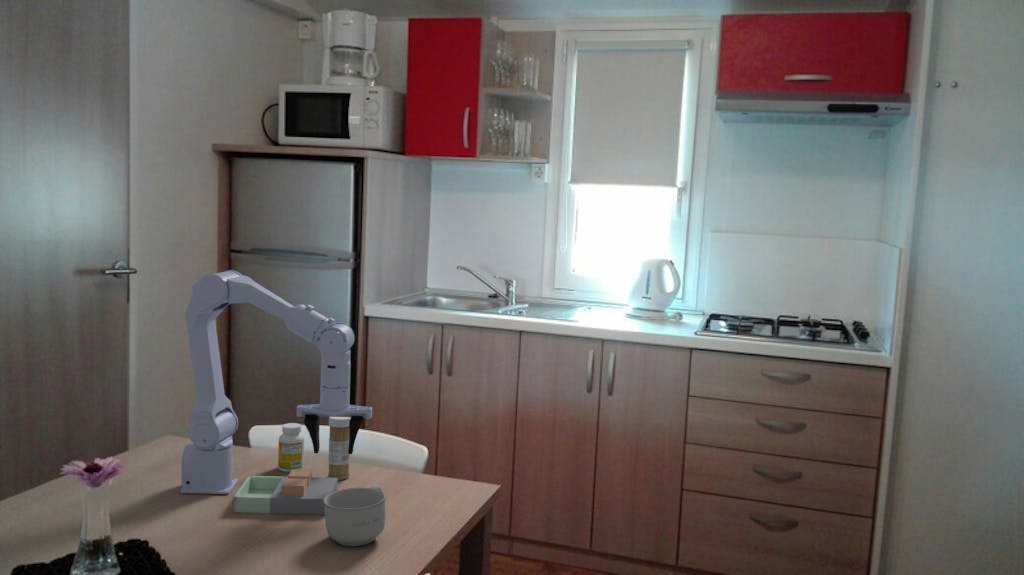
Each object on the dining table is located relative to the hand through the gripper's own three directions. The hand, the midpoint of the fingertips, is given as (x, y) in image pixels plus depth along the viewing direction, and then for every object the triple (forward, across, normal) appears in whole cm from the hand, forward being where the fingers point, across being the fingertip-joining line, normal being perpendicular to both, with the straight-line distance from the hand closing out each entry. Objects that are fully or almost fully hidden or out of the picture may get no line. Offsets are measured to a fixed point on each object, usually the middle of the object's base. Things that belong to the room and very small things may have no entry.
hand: (333, 452), depth 169 cm
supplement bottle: (+10, -12, +17) cm, 23 cm away
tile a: (+6, -6, 0) cm, 9 cm away
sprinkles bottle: (+10, 0, +12) cm, 16 cm away
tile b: (+6, -6, -5) cm, 11 cm away
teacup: (+10, +8, -19) cm, 22 cm away
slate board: (+9, -5, -3) cm, 11 cm away
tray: (+9, -14, -3) cm, 17 cm away
